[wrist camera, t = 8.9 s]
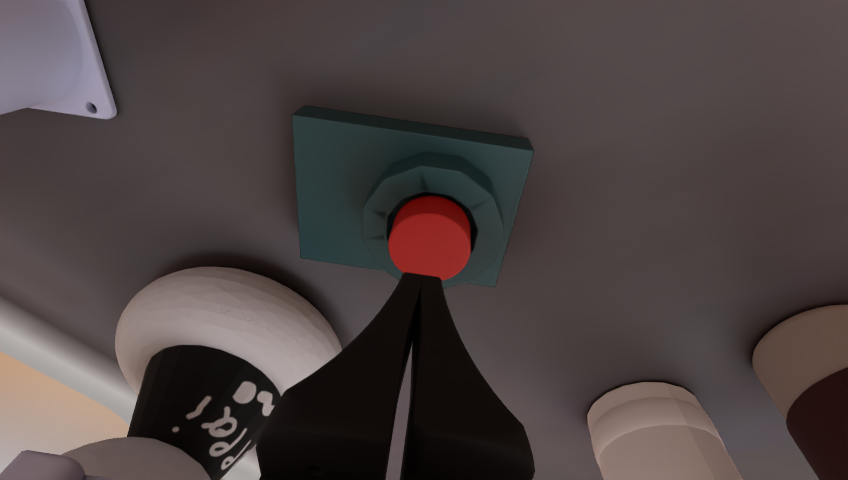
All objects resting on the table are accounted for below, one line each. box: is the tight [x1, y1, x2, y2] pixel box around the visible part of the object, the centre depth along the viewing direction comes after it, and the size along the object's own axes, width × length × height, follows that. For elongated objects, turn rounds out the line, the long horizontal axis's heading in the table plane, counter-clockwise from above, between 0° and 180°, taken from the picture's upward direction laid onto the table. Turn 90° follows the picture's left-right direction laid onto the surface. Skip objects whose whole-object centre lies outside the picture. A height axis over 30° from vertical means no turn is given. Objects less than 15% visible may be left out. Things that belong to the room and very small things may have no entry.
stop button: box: [388, 196, 471, 280], centre depth 18 cm, size 4×4×2 cm
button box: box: [292, 106, 534, 288], centre depth 20 cm, size 11×8×4 cm
